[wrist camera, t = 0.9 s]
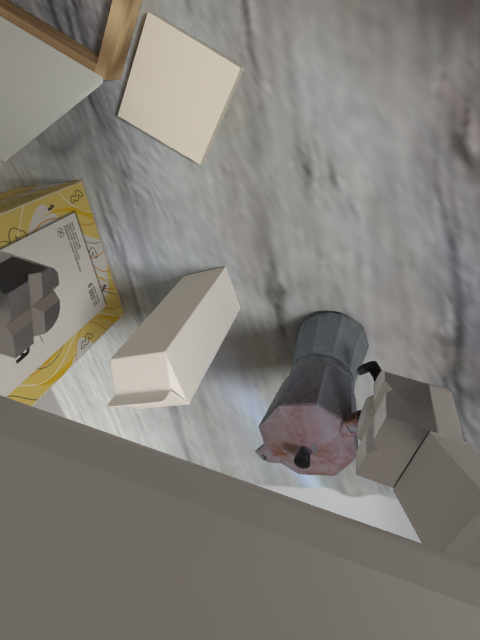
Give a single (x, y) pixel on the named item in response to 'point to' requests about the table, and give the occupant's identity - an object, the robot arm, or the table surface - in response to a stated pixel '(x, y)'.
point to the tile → (178, 88)
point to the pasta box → (74, 281)
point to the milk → (175, 343)
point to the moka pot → (318, 398)
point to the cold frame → (104, 64)
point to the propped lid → (35, 87)
